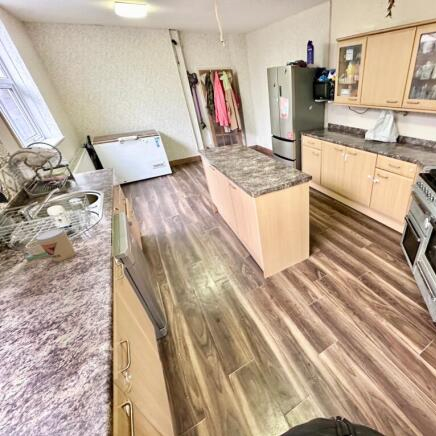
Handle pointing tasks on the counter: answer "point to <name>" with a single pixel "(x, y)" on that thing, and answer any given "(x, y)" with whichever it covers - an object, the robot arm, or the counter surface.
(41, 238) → the coffee cup
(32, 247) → the bowl
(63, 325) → the counter surface
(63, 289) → the counter surface
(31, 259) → the light green flat piece
